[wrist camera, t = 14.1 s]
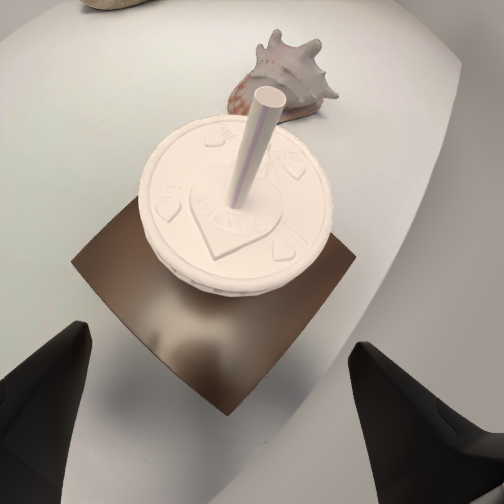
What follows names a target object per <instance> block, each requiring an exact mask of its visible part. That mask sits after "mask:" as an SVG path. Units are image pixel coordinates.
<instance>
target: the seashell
mask: <svg viewBox="0 0 504 504" xmlns="http://www.w3.org/2000/svg"><path fill="white" fill-rule="evenodd" d="M281 36H282V33H281V31H280V30H278V29H276V30H274V31H273V33H272V35H271V37H270V39H269V42H268V47H267V49H265V48H264V47H263V45H262V44H259V45H258V46H257V48H256V56H257V63H256V66H255V69H254V70H252V71H251V72H250V73H249V74H247V75H246V77H245V78H244V79H243V80H242V81H241V82H240V83H239V84H238V86H237V87H236V88H235V89H234V90H233V92H232V93H231V95H230V97H229V100H228V112H229V115H243V116H248V115H249V111H250V108H251V104H252V101H253V97H254V94H255V91H256V90H257V89H258V88H260V87H264V86H269V87H274V88H276V89H278V90H280V91H281V92H283V94H284V95H285V96H286V103H285V106H284V108H283V110H282V113H281V115H280V117H279V120H278V122H277V123H279V122H283V121H287V120H292V119H295V118H298V117H304V116H307V115H310V114H313V113H314V112H316V111H317V110H318V109H319V108H320V106H321V104H322V103H323V98H330V99H337V98H338V97H339V95H338V94H337V93H335V92H334V91H333V90H332V89H331V88H330V87H329V86H328V84H327V82H326V79H325V73H326V72H325V71H323V70H321V69H320V68H319V67H318V66H317V64H316V63H315V61H314V57H315V56H316V55H317V54H318V53H319V52H320V50H321V48H322V43H321V41H320V40H319V39H314V40H312V41H310V42H308V43H306V44H304V45H301V46H299V47H291V46H288V45H286V44H284V43H283V42H282V41H281Z"/></svg>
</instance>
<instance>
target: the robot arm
mask: <svg viewBox="0 0 504 504" xmlns="http://www.w3.org/2000/svg"><path fill="white" fill-rule="evenodd" d="M91 350H92V338H91V334H90V330H89V327H88V324H87V323H86V322H81V321H74V322H73V323H71V324H70V325H69V326H68V327H66V328H65V329H64V330H62V331H61V332H60V333H58V334H57V335H56V336H55V337H53V338H52V339H51V340H49V341H48V342H47V343H46V344H44V345H43V346H42V347H41V348H39V349H38V350H37V351H36V352H34V353H33V354H32V355H31V356H29V357H28V358H27V359H26V360H24V361H23V362H22V363H21V364H20V365H18V366H17V367H16V368H15V369H14V370H12V371H11V372H10V373H9V374H8V375H6V376H5V377H4V379H2V380H0V504H61V496H62V487H63V480H64V474H65V468H66V462H67V457H68V452H69V447H70V442H71V437H72V433H73V429H74V424H75V420H76V416H77V412H78V408H79V405H80V401H81V397H82V394H83V390H84V386H85V381H86V376H87V370H88V365H89V360H90V355H91ZM348 367H349V373H350V379H351V385H352V390H353V396H354V401H355V405H356V409H357V412H358V416H359V419H360V424H361V428H362V431H363V435H364V439H365V443H366V447H367V452H368V455H369V459H370V464H371V469H372V473H373V477H374V482H375V486H376V491H377V497H378V502H379V504H504V433H490V432H487V431H484V430H482V429H481V428H479V427H478V426H476V425H475V424H473V423H472V422H470V421H469V420H467V419H466V418H464V417H462V416H461V415H460V414H458V413H457V412H456V411H454V410H453V409H451V408H450V407H449V406H448V405H446V404H445V403H444V402H443V401H441V400H440V399H439V398H438V397H436V396H435V395H434V394H433V393H431V392H430V391H429V390H428V389H426V388H425V387H424V386H423V385H421V384H420V383H419V382H418V381H416V380H415V379H414V378H413V377H412V376H410V375H409V374H408V373H407V372H405V371H404V370H403V369H402V368H400V367H399V366H398V365H397V364H395V363H394V362H393V361H392V360H390V359H389V358H388V357H387V356H386V355H384V354H383V353H382V352H381V351H379V350H378V349H377V348H376V347H374V346H373V345H372V344H370V343H369V342H367V341H365V342H358V343H356V345H355V347H354V348H353V350H352V352H351V354H350V355H349V357H348Z"/></svg>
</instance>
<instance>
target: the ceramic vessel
mask: <svg viewBox="0 0 504 504" xmlns="http://www.w3.org/2000/svg"><path fill="white" fill-rule="evenodd" d="M80 1H82V2H83V3H85V4H86V5H88V6H90V7H93V8H97V9H105V10H113V9H122V8H126V7H130V6H134V5H138V4H140V3H143V2H145V1H147V0H80Z"/></svg>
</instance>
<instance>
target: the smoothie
mask: <svg viewBox="0 0 504 504" xmlns="http://www.w3.org/2000/svg"><path fill="white" fill-rule="evenodd" d="M285 103H286V96H285V95H284V94H283V92H281V91H280V90H278V89H276V88H274V87H269V86H264V87H260V88H258V89H257V90H256V91H255V94H254V97H253V101H252V104H251V108H250V111H249V115H248V116H243V115H217V116H211V117H206V118H202V119H199V120H196V121H193V122H191V123H189V124H186V125H184V126H183V127H181V128H179V129H177V130H176V131H174V132H173V133H171V134H170V135H169V136H168V137H167V138H165V139H164V140H163V141H162V142H161V143H160V144H159V145H158V147H157V148H156V149H155V150H154V152H153V153H152V155H151V156H150V158H149V159H148V161H147V163H146V165H145V168H144V170H143V173H142V176H141V180H140V185H139V193H138V203H139V211H140V216H141V220H142V223H143V227H144V231H145V235H146V238H147V240H148V242H149V244H150V245H151V247H152V249H153V250H154V252H155V254H156V256H157V257H158V259H159V260H160V261H161V262H162V263H163V264H164V265H165V266H166V267H167V268H168V269H169V270H170V271H171V272H172V273H173V274H174V275H176V276H177V277H178V278H179V279H181V280H183V281H185V282H186V283H188V284H190V285H192V286H194V287H196V288H198V289H200V290H202V291H205V292H209V293H214V294H218V295H223V296H228V297H240V296H256V295H260V294H263V293H266V292H269V291H272V290H275V289H277V288H280V287H283V286H284V285H286V284H287V283H288V282H290V281H291V280H292V279H294V278H295V277H297V276H298V275H299V274H301V273H302V272H303V271H304V270H305V269H306V268H308V267H309V266H310V265H311V264H312V263H313V262H314V260H315V259H316V258H317V257H318V256H319V254H320V253H321V251H322V250H323V248H324V246H325V244H326V242H327V240H328V237H329V235H330V232H331V228H332V223H333V217H334V203H333V195H332V190H331V186H330V183H329V180H328V178H327V175H326V173H325V171H324V169H323V167H322V166H321V164H320V162H319V161H318V159H317V158H316V157H315V155H314V154H313V153H312V152H311V150H310V149H309V148H308V147H307V146H306V145H305V144H304V143H303V142H302V141H300V140H299V139H298V138H297V137H295V136H294V135H293V134H291V133H290V132H288V131H286V130H285V129H283V128H281V127H279V126H277V122H278V120H279V117H280V115H281V113H282V110H283V108H284V106H285Z"/></svg>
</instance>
